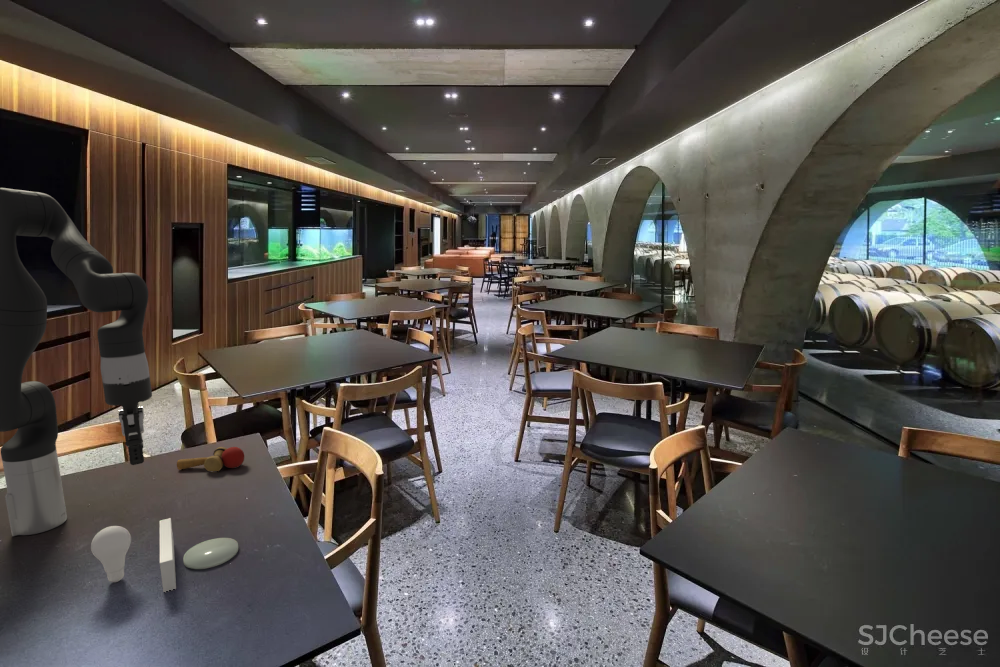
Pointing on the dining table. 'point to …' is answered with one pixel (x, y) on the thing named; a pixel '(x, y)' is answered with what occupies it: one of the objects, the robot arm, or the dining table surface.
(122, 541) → the lightbulb
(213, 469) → the kendama
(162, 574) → the wall
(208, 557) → the pad
